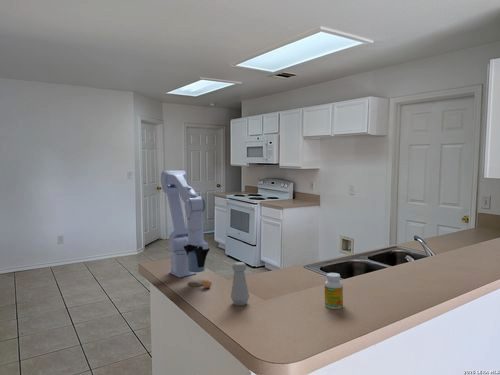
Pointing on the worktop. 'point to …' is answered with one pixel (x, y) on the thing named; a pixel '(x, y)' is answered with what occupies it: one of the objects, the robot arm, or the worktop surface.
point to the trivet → (196, 283)
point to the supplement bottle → (333, 291)
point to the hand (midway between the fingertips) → (196, 265)
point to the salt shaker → (239, 285)
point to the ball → (207, 283)
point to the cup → (194, 263)
